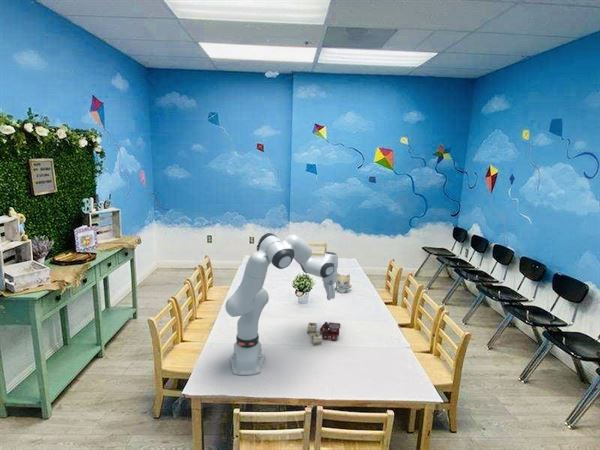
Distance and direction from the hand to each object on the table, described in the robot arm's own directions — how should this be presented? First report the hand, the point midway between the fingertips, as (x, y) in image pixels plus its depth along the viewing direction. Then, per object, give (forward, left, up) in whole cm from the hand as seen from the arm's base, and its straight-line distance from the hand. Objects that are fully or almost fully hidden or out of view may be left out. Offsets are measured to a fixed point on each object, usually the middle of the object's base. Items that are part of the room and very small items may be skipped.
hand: (328, 299), depth 231 cm
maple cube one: (-10, +8, -23) cm, 27 cm away
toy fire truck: (-4, -1, -24) cm, 24 cm away
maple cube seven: (+3, +9, -23) cm, 25 cm away
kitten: (+64, -22, -24) cm, 71 cm away
